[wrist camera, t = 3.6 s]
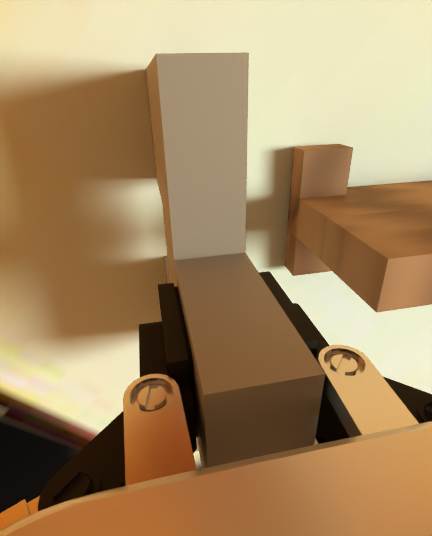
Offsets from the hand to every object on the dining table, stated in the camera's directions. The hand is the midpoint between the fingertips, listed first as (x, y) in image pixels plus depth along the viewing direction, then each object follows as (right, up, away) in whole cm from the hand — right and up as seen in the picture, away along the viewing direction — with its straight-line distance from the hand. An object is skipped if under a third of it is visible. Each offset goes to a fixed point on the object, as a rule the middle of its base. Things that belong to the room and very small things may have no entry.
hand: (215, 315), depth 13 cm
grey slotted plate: (-2, +5, +9) cm, 11 cm away
